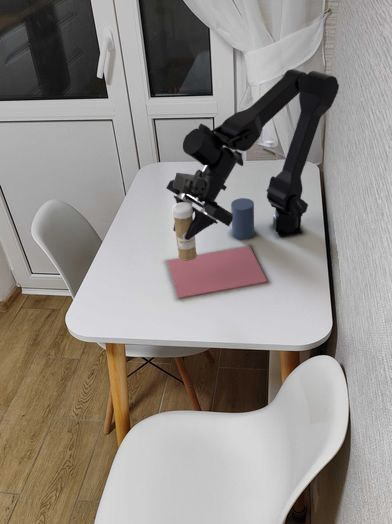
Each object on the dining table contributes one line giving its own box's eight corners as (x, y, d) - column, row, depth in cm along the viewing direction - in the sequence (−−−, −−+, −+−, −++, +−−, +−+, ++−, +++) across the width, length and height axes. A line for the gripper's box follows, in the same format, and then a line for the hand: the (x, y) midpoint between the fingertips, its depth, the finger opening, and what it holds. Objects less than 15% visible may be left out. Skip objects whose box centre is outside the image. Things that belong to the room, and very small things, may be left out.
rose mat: (249, 247, 141) (249, 245, 141) (267, 282, 130) (267, 281, 130) (168, 261, 139) (167, 260, 139) (178, 298, 128) (178, 297, 128)
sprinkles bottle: (184, 264, 127) (178, 214, 117) (174, 255, 129) (168, 205, 120) (201, 257, 128) (196, 206, 119) (190, 248, 131) (185, 199, 122)
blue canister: (250, 226, 149) (250, 196, 143) (256, 237, 145) (256, 207, 138) (229, 229, 148) (228, 200, 142) (235, 241, 144) (234, 211, 138)
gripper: (167, 145, 120) (134, 207, 123) (219, 172, 108) (181, 240, 112) (198, 166, 128) (166, 224, 132) (249, 194, 117) (213, 256, 120)
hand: (180, 235), depth 124 cm, fingers closed on sprinkles bottle, 4 cm apart
